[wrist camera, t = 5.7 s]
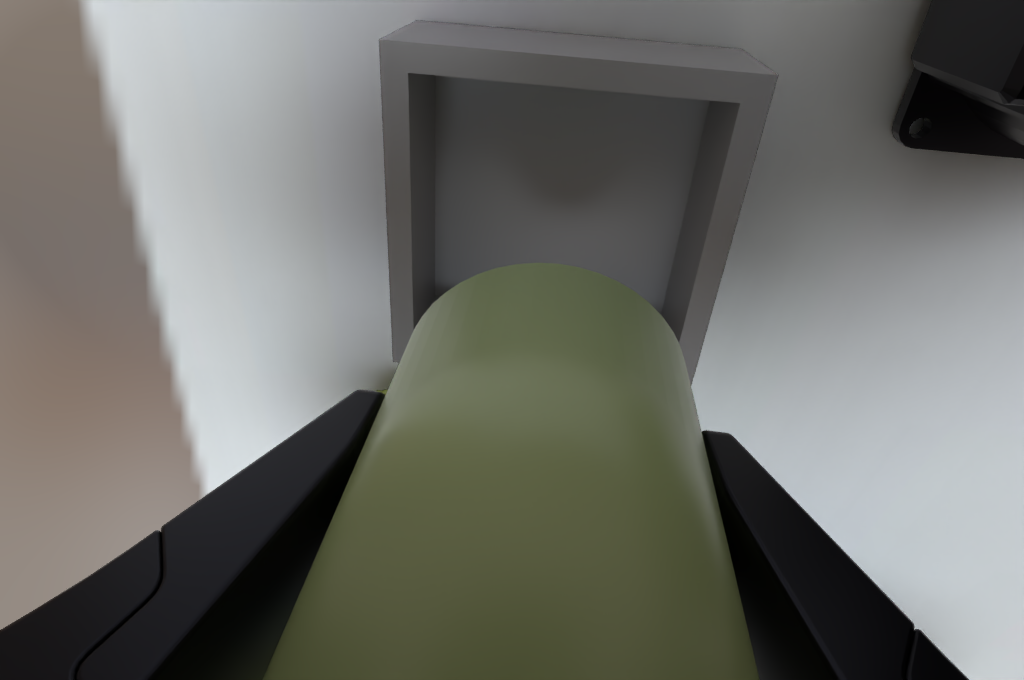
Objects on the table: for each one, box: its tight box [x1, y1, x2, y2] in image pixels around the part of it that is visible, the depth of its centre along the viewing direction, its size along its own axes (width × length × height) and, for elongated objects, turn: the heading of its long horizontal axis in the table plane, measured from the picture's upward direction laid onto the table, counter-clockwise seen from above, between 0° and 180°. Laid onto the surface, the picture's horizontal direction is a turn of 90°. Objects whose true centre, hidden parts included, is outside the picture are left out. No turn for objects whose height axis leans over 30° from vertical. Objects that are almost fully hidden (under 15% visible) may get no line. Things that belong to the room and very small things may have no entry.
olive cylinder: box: [263, 263, 760, 680], centre depth 8 cm, size 4×4×6 cm
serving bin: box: [379, 20, 778, 385], centre depth 17 cm, size 8×8×4 cm
